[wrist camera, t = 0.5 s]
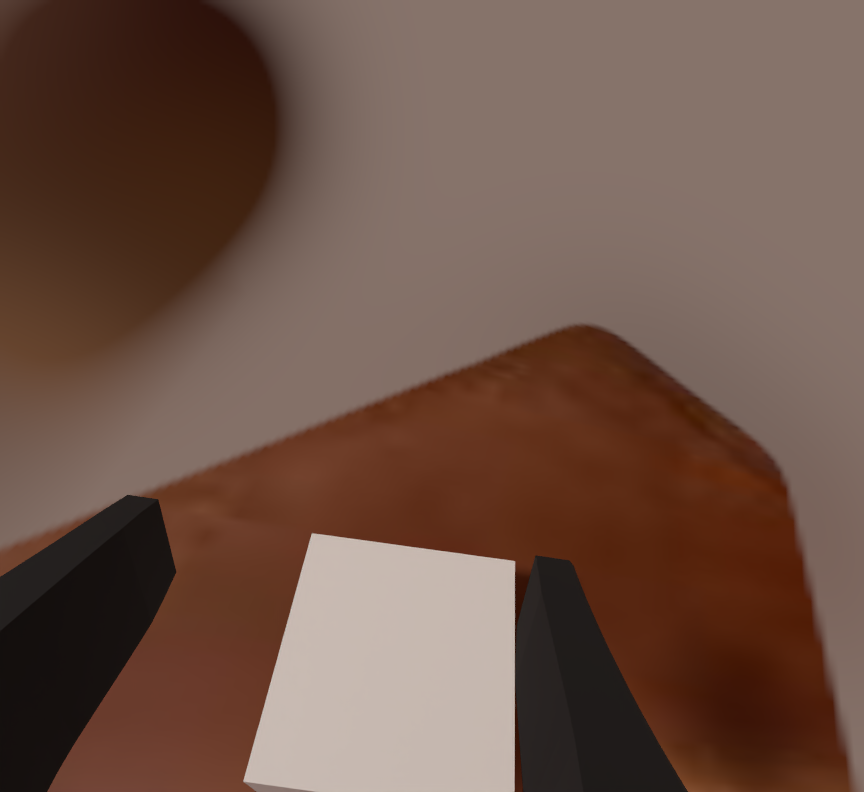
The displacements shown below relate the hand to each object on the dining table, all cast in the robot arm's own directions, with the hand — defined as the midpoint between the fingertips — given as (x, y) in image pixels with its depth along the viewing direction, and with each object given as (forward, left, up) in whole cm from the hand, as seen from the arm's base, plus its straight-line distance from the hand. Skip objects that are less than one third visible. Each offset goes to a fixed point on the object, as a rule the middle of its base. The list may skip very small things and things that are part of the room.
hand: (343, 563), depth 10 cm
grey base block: (+3, -1, -19) cm, 19 cm away
